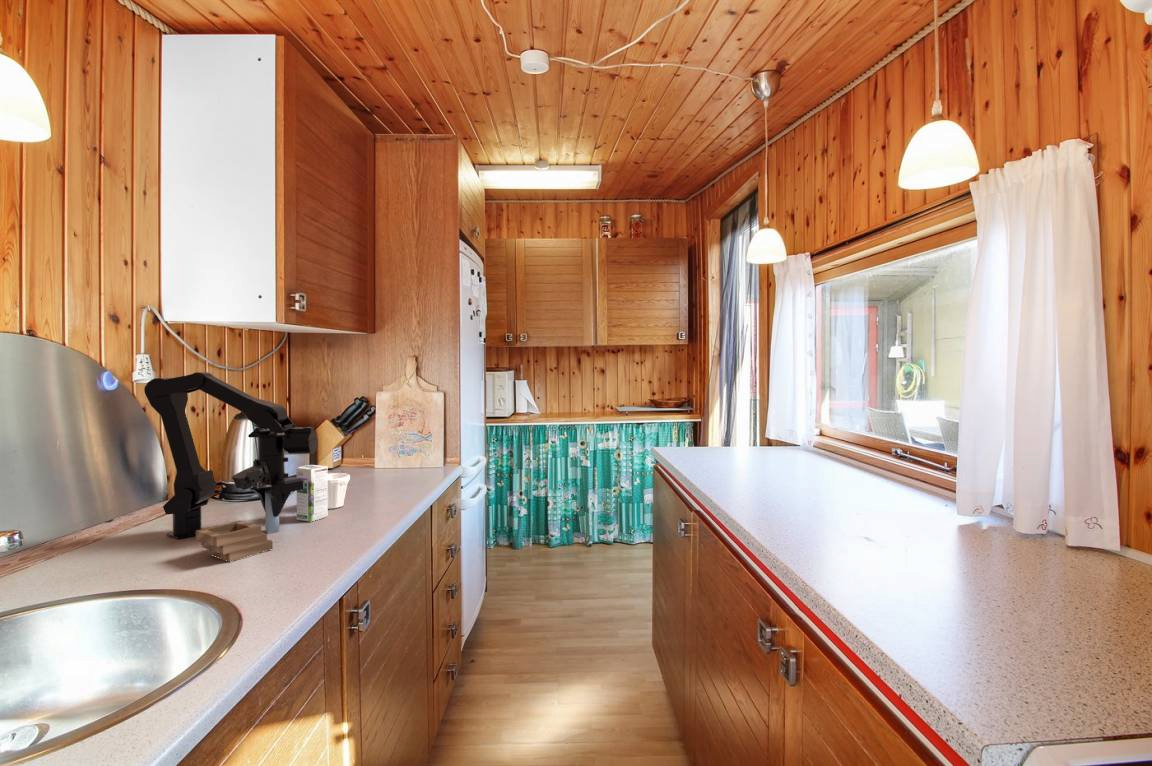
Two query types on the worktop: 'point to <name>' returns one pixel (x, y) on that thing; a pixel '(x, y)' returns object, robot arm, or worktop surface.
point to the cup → (337, 489)
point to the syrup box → (312, 493)
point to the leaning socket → (234, 540)
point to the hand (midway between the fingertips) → (272, 515)
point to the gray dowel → (270, 516)
